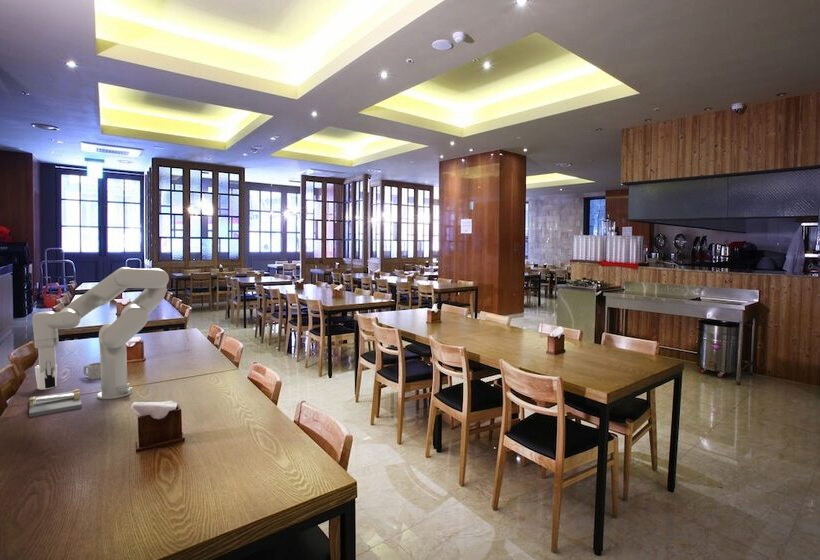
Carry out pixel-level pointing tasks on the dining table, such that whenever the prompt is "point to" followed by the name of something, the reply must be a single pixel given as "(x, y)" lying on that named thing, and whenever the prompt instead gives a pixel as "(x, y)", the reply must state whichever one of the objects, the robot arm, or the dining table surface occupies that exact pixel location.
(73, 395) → the bar
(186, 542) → the dining table surface
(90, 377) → the mug
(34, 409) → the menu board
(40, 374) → the white cup
